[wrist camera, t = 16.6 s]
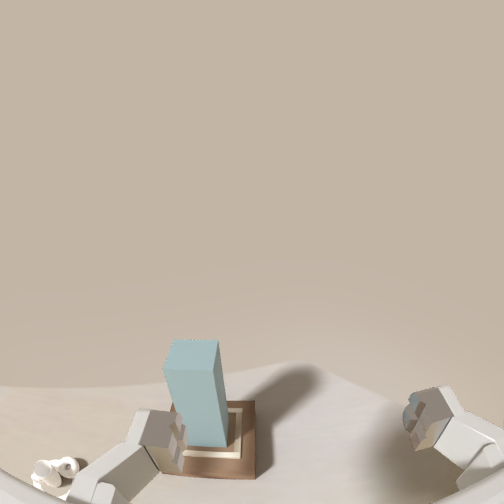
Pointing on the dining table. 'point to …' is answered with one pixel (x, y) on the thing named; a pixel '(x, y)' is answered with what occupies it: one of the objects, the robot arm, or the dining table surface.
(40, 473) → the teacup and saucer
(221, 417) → the column
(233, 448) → the plinth
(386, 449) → the dining table surface
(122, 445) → the robot arm
